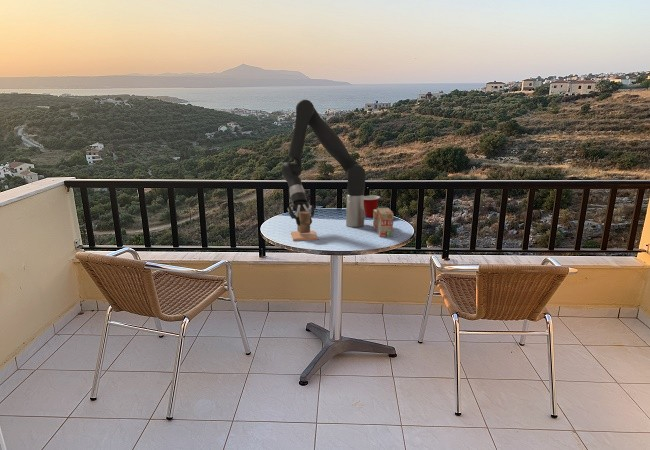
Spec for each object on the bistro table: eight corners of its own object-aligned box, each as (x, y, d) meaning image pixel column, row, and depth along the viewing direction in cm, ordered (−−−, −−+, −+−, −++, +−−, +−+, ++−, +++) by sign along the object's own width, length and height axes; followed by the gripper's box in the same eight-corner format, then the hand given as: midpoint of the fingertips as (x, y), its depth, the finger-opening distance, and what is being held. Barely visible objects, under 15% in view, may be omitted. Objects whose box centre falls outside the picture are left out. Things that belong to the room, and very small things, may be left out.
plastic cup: (360, 214, 245) (361, 194, 242) (378, 214, 245) (379, 195, 241) (361, 218, 234) (361, 198, 231) (379, 218, 234) (380, 198, 231)
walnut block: (307, 229, 201) (307, 210, 199) (310, 232, 197) (310, 212, 194) (297, 230, 200) (297, 211, 197) (300, 233, 195) (300, 213, 192)
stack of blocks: (372, 225, 220) (373, 203, 217) (384, 225, 220) (385, 203, 217) (380, 237, 199) (381, 213, 196) (392, 237, 200) (393, 213, 196)
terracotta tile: (314, 232, 206) (314, 230, 205) (317, 239, 194) (317, 237, 194) (290, 233, 204) (290, 231, 203) (293, 240, 192) (293, 238, 192)
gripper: (285, 192, 197) (292, 221, 190) (312, 190, 202) (320, 219, 195) (282, 200, 204) (289, 229, 196) (309, 198, 208) (317, 227, 201)
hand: (304, 224), depth 195 cm, fingers closed on walnut block, 5 cm apart
